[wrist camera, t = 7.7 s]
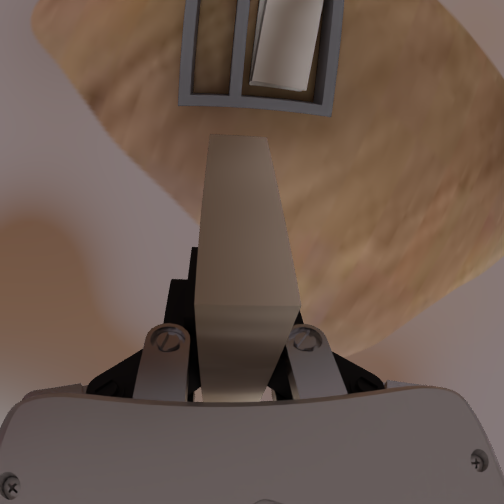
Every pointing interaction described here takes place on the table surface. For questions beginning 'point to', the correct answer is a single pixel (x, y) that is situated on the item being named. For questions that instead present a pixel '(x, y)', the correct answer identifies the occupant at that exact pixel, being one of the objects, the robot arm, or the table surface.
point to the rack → (234, 98)
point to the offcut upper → (286, 42)
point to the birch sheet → (242, 272)
